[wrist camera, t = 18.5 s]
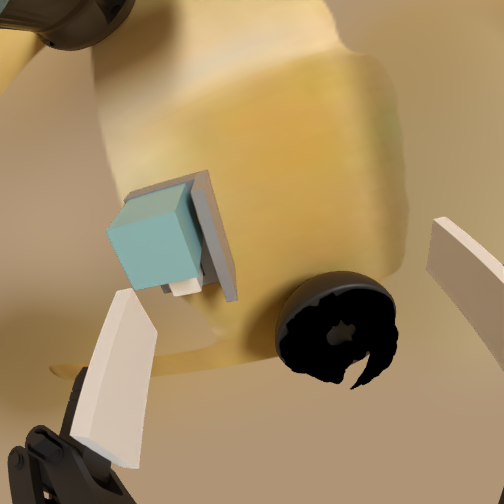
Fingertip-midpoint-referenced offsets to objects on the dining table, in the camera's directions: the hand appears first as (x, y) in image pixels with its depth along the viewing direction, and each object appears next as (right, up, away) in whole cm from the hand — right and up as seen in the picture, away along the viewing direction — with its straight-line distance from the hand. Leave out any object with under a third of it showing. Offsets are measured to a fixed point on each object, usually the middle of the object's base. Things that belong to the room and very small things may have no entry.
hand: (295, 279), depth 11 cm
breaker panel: (-12, +4, +30) cm, 33 cm away
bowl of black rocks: (+11, -6, +39) cm, 41 cm away
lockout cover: (-13, +5, +25) cm, 29 cm away
